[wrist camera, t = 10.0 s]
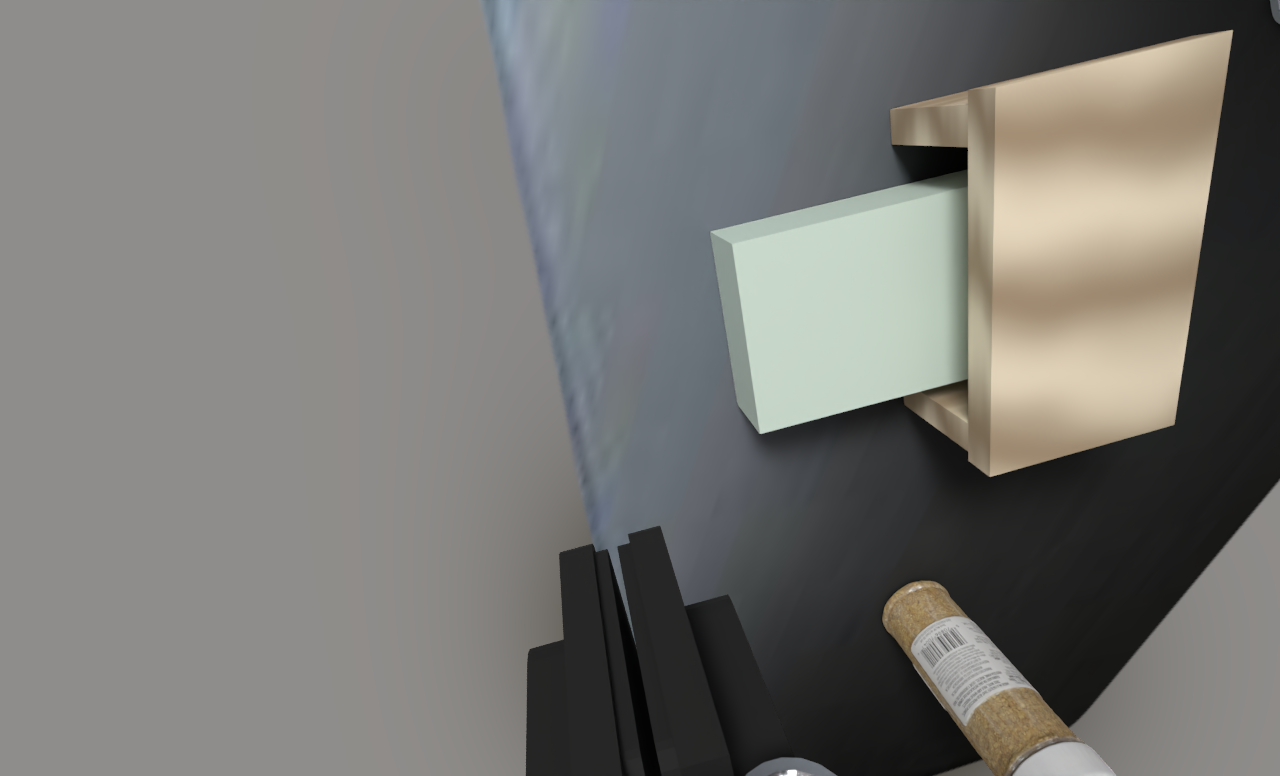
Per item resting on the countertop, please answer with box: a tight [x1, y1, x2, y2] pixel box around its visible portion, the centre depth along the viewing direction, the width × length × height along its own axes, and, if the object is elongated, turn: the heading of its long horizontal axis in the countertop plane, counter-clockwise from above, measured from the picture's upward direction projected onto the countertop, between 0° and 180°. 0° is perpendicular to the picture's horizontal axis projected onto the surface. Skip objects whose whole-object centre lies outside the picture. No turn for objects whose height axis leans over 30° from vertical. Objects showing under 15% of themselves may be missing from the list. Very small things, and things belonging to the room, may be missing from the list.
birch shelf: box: [890, 30, 1233, 477], centre depth 28 cm, size 16×9×7 cm, turn 12°
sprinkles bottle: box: [882, 581, 1116, 776], centre depth 34 cm, size 5×5×13 cm
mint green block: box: [710, 169, 968, 434], centre depth 30 cm, size 9×16×4 cm, turn 102°
